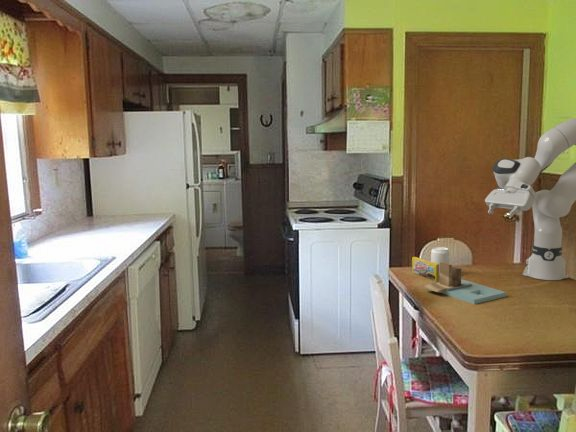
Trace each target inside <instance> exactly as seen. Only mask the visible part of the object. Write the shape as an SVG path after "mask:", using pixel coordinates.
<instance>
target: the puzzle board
mask: <svg viewBox="0 0 576 432" xmlns="http://www.w3.org/2000/svg"><path fill="white" fill-rule="evenodd" d="M433 283H438V282H435V281H434V282H431V283H429V284H433ZM438 293H440V294H442V295H446V296H448V297H451V298H455V299H457V300H459V301H460V300H461V301H463V302H466V303H469V304H472V305H476V304H481V303H484V302H488V301H494V300H498V299H501V298H505V297H507V292H506V291H503V290H499V289H496V288H493V287H489V286H486V285H482V284H479V283H476V282H472V281H469V280H465V279H462V278H461V286H458V287H454V288H449V289H447V290H446V291H441V292H438Z"/></svg>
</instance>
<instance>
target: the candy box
mask: <svg viewBox="0 0 576 432" xmlns="http://www.w3.org/2000/svg"><path fill="white" fill-rule="evenodd" d="M411 268H412V269H411V274H412V275H414V274H415V275H414V276H417V275H418V276H417V277H421V278H424V279H426V280H429V281H433V282H434V283H435V282H439V279H440V275H439V264H437V263H434V262H431V260H426V259H424V258H420V257H417V256H412V259H411Z"/></svg>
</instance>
